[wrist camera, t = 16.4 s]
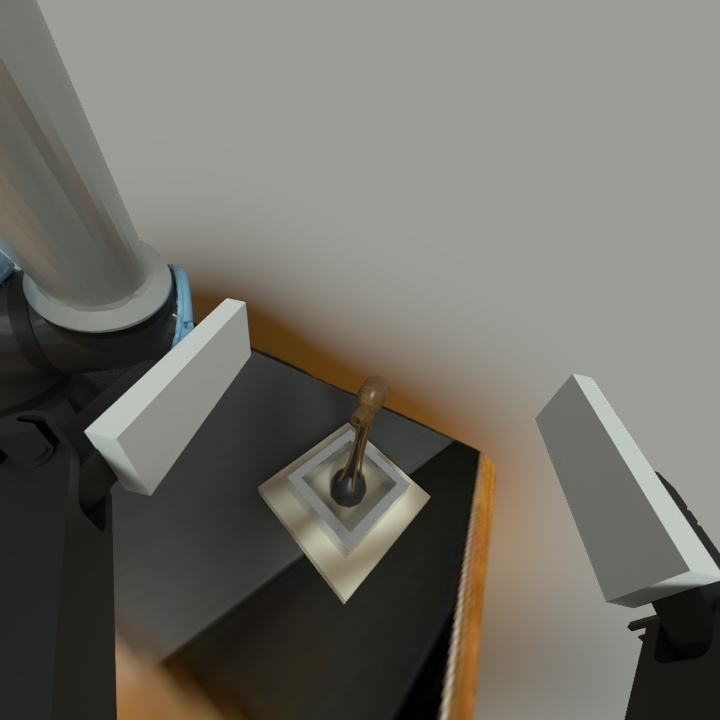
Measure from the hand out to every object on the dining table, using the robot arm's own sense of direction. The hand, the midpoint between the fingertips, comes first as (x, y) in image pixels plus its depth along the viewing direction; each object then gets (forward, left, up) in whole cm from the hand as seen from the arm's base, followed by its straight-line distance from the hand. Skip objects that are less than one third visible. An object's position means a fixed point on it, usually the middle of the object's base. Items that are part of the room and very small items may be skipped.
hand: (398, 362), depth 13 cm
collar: (-6, +8, -30) cm, 32 cm away
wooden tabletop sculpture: (-6, +8, -31) cm, 32 cm away
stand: (-6, +8, -32) cm, 33 cm away
